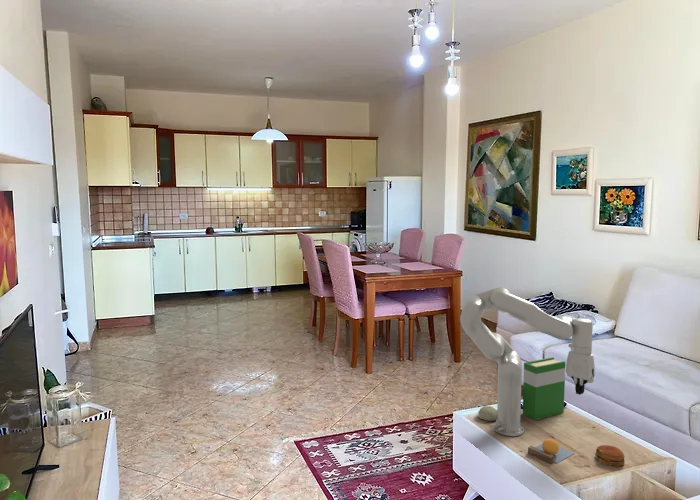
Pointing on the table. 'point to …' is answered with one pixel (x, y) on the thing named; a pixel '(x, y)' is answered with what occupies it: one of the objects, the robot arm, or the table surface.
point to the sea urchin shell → (488, 413)
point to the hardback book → (543, 388)
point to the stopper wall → (541, 454)
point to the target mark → (560, 455)
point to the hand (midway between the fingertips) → (579, 393)
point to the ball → (550, 446)
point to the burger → (610, 455)
